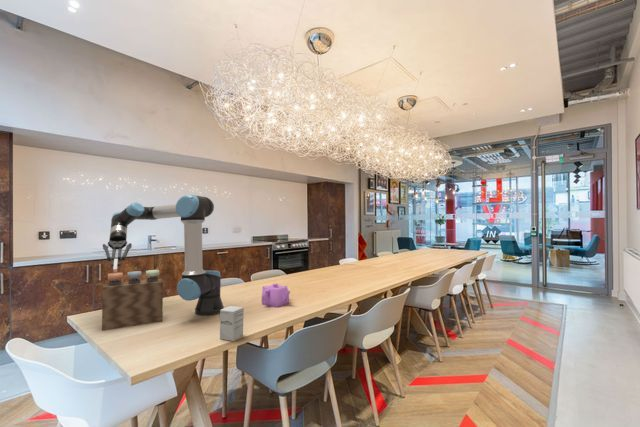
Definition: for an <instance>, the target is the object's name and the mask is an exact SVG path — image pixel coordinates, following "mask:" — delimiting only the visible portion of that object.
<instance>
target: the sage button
mask: <svg viewBox="0 0 640 427" xmlns="http://www.w3.org/2000/svg"><path fill="white" fill-rule="evenodd" d="M158 276H160V270H159V269H150V270H149V269H148V270H145V277H149V278H150V279H154V278H155V277H158Z"/></svg>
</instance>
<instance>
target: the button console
mask: <svg viewBox="0 0 640 427" xmlns="http://www.w3.org/2000/svg"><path fill="white" fill-rule="evenodd" d="M163 290H164V281H163V278H158V276H155V278H154V279H150V277H147V278H146V279H143V280H141V278H137V280H132V278H128V281H122V279H118V282H112V280H109V282H108V283H105V284H104V285H103V286H102V299H101V300H102V305H101V306H102V308H101V309H102V310H101V312H102V313H101V315H102V316H101V317H102V318H101V331H107V330H116V329H121V328H122V329H123V328H127V327H132V326H133V327H134V326H140V325H146V324H147V325H148V324H154V323H159V322H163V314H164V312H163V311H164V310H163V306H164V305H163V303H164V302H163V301H164V300H163V299H164V298H163V297H164V296H163V292H164V291H163Z"/></svg>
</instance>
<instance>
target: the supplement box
mask: <svg viewBox="0 0 640 427" xmlns="http://www.w3.org/2000/svg"><path fill="white" fill-rule="evenodd" d="M244 309H245V308H244V307H241V306H234V305H229V306H226V307H224V309H221V310H220V313H219V339H220V340H226V341H232V342H234V341H237V340H238V339H240V338H242V337H243V336H244Z"/></svg>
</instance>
